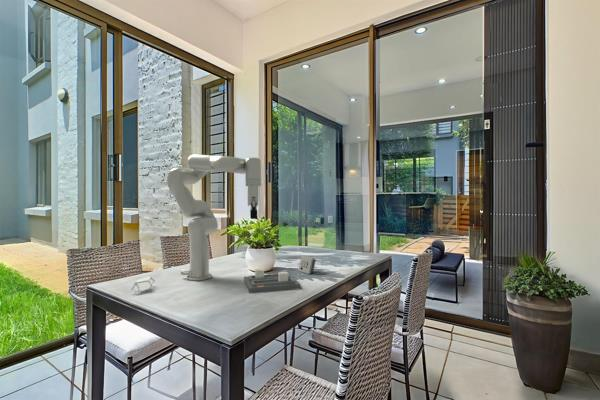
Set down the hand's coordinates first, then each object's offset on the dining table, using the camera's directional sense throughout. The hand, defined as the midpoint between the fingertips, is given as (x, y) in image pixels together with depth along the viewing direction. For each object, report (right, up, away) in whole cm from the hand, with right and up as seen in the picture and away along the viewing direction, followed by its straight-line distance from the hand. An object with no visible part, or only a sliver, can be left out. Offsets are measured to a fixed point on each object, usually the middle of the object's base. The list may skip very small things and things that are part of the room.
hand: (253, 218), depth 151 cm
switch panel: (+9, -32, 0) cm, 34 cm away
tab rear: (+3, -30, +2) cm, 30 cm away
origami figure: (-48, -33, -9) cm, 59 cm away
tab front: (+15, -30, -3) cm, 34 cm away
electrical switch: (+26, -32, +24) cm, 48 cm away
